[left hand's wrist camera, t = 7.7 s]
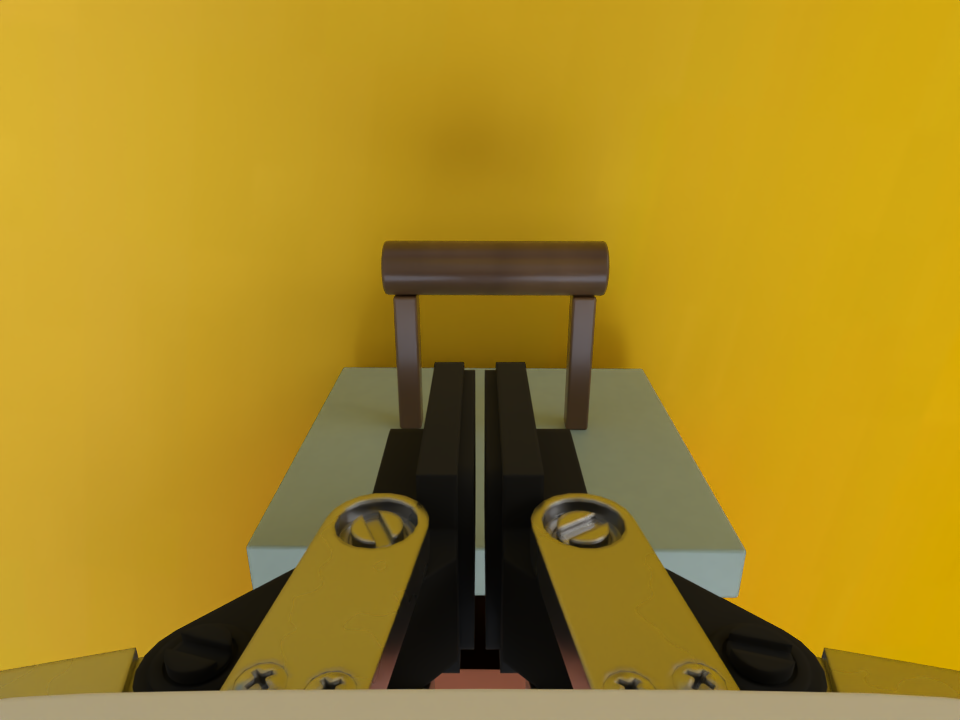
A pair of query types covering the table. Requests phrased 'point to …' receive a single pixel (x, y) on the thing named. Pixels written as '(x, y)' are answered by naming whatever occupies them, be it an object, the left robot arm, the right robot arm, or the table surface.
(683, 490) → the drawer
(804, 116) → the table surface
